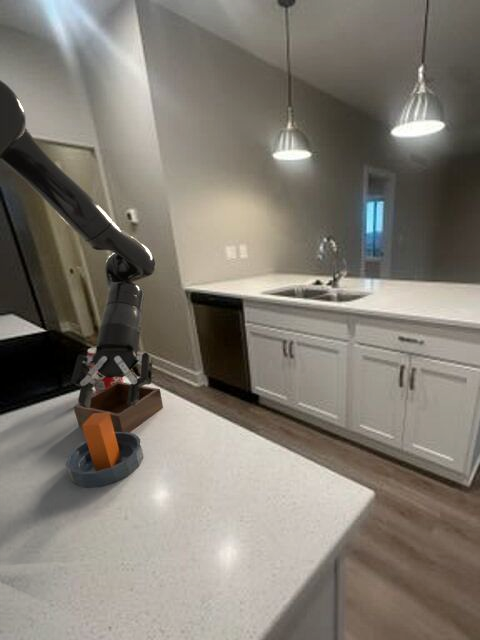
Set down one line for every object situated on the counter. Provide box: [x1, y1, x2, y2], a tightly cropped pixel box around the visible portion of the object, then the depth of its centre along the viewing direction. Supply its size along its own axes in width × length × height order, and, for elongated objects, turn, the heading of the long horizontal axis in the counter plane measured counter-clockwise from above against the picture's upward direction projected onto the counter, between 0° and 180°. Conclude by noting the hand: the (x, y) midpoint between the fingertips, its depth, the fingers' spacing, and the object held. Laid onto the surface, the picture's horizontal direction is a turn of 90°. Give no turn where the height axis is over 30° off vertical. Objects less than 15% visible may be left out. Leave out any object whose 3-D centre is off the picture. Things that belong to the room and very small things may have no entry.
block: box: [81, 413, 121, 471], centre depth 63 cm, size 4×3×10 cm
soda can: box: [86, 345, 124, 393], centre depth 91 cm, size 7×7×12 cm
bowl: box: [65, 432, 144, 488], centre depth 65 cm, size 12×12×4 cm
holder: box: [72, 381, 164, 433], centre depth 79 cm, size 13×13×6 cm
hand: (108, 406), depth 66 cm, fingers open, 8 cm apart
